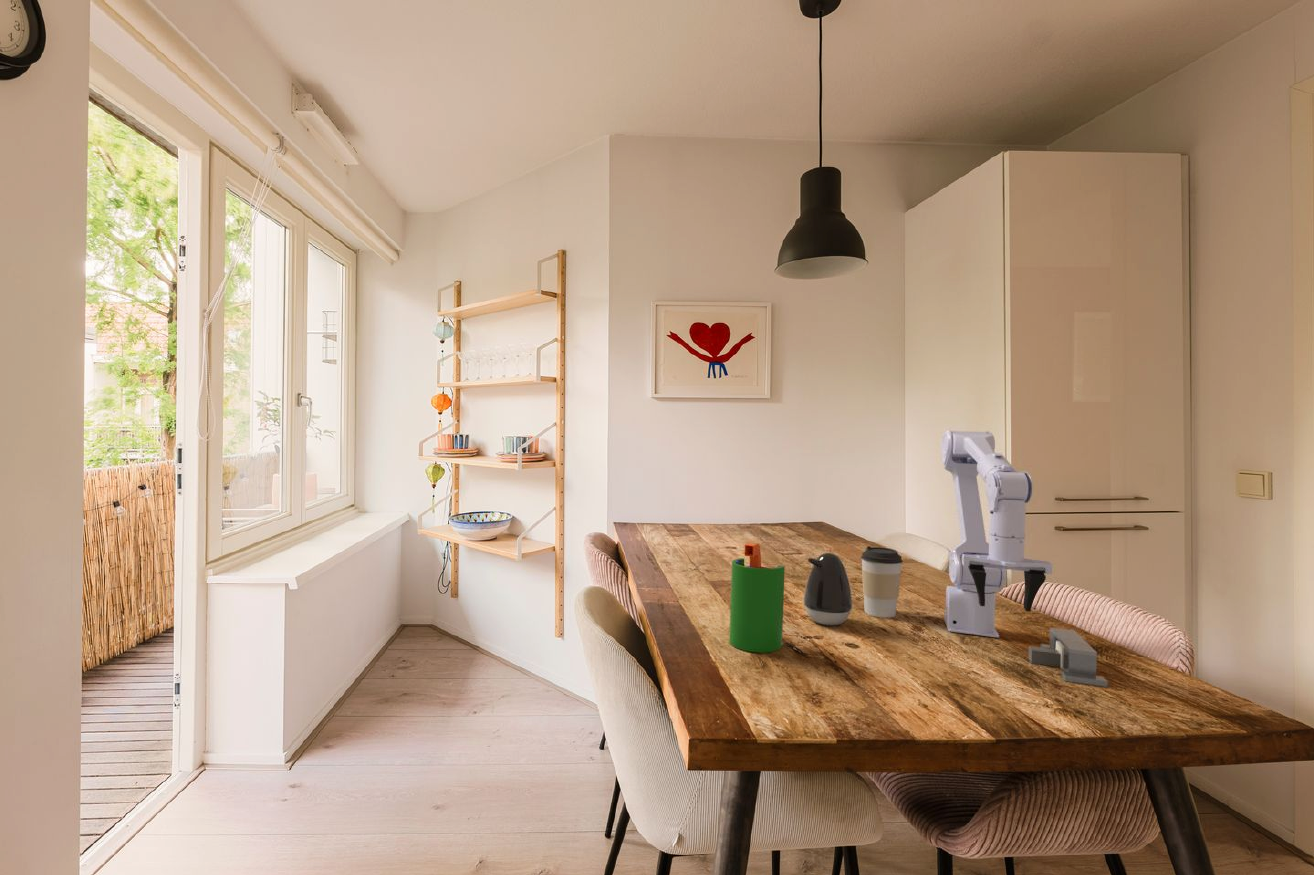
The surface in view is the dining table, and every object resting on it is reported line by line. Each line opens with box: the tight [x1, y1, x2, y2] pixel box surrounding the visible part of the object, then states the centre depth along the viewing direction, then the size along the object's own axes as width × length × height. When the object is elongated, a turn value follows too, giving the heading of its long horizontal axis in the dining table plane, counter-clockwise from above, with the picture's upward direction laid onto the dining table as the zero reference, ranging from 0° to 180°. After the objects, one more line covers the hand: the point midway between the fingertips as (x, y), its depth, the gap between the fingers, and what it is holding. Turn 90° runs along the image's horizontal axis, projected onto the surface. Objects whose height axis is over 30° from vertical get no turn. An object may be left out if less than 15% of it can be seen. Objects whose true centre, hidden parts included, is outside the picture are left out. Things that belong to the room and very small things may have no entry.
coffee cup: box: [860, 545, 903, 619], centre depth 136 cm, size 9×9×15 cm
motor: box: [729, 542, 786, 654], centre depth 114 cm, size 10×9×20 cm
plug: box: [1027, 641, 1064, 670], centre depth 108 cm, size 8×4×4 cm, turn 70°
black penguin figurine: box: [803, 552, 853, 627], centre depth 129 cm, size 10×10×15 cm
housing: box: [1040, 627, 1108, 688], centre depth 107 cm, size 6×16×5 cm, turn 160°
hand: (1004, 607), depth 111 cm, fingers open, 7 cm apart
